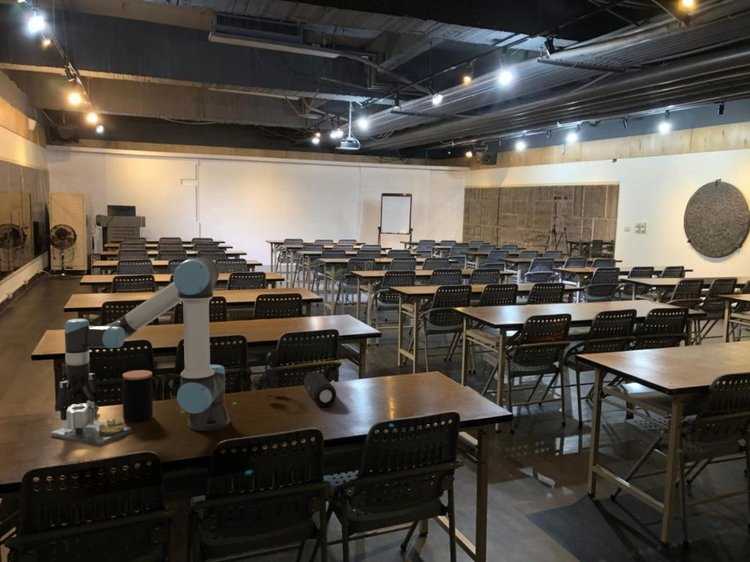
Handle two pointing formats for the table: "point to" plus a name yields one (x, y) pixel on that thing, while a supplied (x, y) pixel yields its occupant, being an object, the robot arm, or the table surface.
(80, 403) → the stone
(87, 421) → the planet gear
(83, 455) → the table surface
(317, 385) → the portable speaker
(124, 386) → the coffee jar
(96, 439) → the carrier
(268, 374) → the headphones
